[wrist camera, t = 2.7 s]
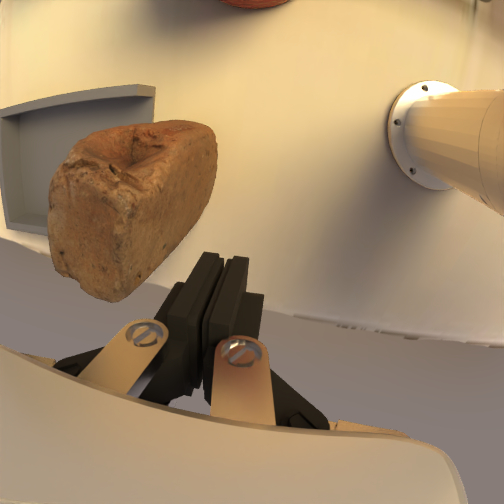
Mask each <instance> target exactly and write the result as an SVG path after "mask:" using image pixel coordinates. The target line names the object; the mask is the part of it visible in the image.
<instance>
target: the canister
mask: <svg viewBox="0 0 504 504" xmlns="http://www.w3.org/2000/svg"><path fill="white" fill-rule="evenodd" d="M220 1H222V2H224V3H226V4H229V5H231V6H235V7H240V8H250V9H258V8H267V7H272V6H276V5H280V4H282V3H285V2H287V1H289V0H220Z"/></svg>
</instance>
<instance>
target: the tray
mask: <svg viewBox="0 0 504 504" xmlns="http://www.w3.org/2000/svg"><path fill="white" fill-rule="evenodd" d="M155 88H156V87H153V86H146V85H140V84H134V85H123V86H114V87H106V88H98V89H91V90H84V91H78V92H72V93H67V94H61V95H56V96H52V97H47V98H42V99H38V100H34V101H30V102H26V103H22V104H18V105H14V106H11V107H7V108H4V109H1V110H0V188H1V196H2V203H3V209H4V216H5V221H6V227H7V229H12V230H17V231H23V232H29V233H35V234H41V235H47V236H48V232H47V217H48V210H49V201H48V194H49V185H50V180H51V179H52V177H53V175H54V173H55V171H56V170H57V168H58V166H59V165H60V164H61V163H62V162H63V161H64V160H65V159H66V157H67V155H68V153H69V151H70V150H71V148H72V147H73V146H74V145H75V144H76V143H77V142H78V141H79V140H81V139H84V138H86V137H87V136H88V135H90V134H91V133H93V132H96V131H100V130H105V129H109V128H113V127H117V126H128V125H131V124H139V123H153V117H154V101H155Z"/></svg>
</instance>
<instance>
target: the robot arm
mask: <svg viewBox="0 0 504 504" xmlns="http://www.w3.org/2000/svg"><path fill="white" fill-rule="evenodd" d="M421 86H422V87H423V90H422V88H421ZM394 121H396V122H397V124H396V125H395V124H394ZM388 138H389V145H390V148H391V151H392V154H393V156H394V158H395V160H396V162H397V164H398V165H399V167H400V168H401V169H402V171H403V172H404V173H405V174H406V175H407V176H408V177H409V178H410V179H411V180H413V181H415V182H416V183H418V184H420V185H422V186H424V187H426V188H429V189H433V190H447V189H452V188H456V189H458V190H460V191H461V192H463V193H465V194H467V195H469V196H470V197H472V198H474V199H476V200H477V201H479V202H481V203H482V204H484V205H486V206H487V207H489V208H491V209H492V210H494V211H496V212H497V213H499V214H500V215H502V216H504V90H475V91H459V90H457V89H456V88H455V87H453V86H451V85H449V84H447V83H444V82H440V81H433V80H427V81H421V82H418V83H415V84H412V85H411V86H409V87H407V88H406V89H405V90H404V91H403V92H402V93H401V94H400V95H399V96H398V97H397V99H396V100H395V102H394V103H393V106H392V108H391V111H390V114H389V120H388ZM410 168H412V171H411V172H410V171H409V170H410ZM248 265H249V258H247V257H240V256H234V257H233V259H228V260H227V262H226V264H225V267H224V258H219V254H218V253H211V252H203V254H202V255H201V257H200V259H199V260H198V262H197V264H196V265H195V267H194V269H193V271H192V272H191V274H190V276H189V277H188V279H187V281H186V282H185V283H183V282H177V283H176V284H175V285H174V287H173V288H172V290H171V292H170V293H169V295H168V296H167V298H166V300H165V301H164V303H163V304H162V306H161V308H160V309H159V311H158V313H157V314H156V316H155V317H154V319H138V320H134V321H133V322H130V323H128V324H127V325H126V326H124V327H123V328H122V329H121V331H120V332H119V333H118V334H117V335H116V336H115V337H114V338H113V339H112V340H111V341H110V342H109V343H108V344H107V345H106V346H105V347H102V348H98V349H95V350H92V351H88V352H85V353H82V354H78V355H75V356H71V357H68V358H65V359H62V360H60V361H58V362H57V363H56V361H55V359H50V358H45V357H39V356H34V355H29V354H24V353H19V352H17V351H15V350H13V349H10V348H8V347H6V346H4V345H1V344H0V504H468V500H467V497H466V493H465V489H464V486H463V483H462V481H461V478H460V476H459V473H458V471H457V469H456V467H455V465H454V463H453V462H452V460H451V459H450V458H449V457H448V455H447V454H446V453H444V452H443V451H442V450H440V449H439V448H436V447H434V446H433V445H430V444H428V443H425V442H422V441H418V440H415V439H411V438H410V437H408V436H407V435H406V434H405V433H403V432H399V431H397V430H390V429H384V428H378V427H373V426H367V425H362V424H357V423H352V422H347V421H343V420H338V422H337V423H336V422H332V421H328V420H327V418H326V417H325V416H324V415H323V414H322V413H321V412H320V411H319V410H318V409H316V408H315V407H314V406H313V405H312V404H310V403H309V402H308V401H307V400H306V399H305V398H303V397H302V396H301V395H300V394H299V393H297V392H296V391H295V390H294V389H293V388H292V387H290V386H289V385H288V384H287V383H286V382H285V381H284V380H282V379H281V378H280V377H279V376H278V375H277V374H276V373H275V372H274V371H272V370H271V369H270V366H269V357H268V352H267V349H266V347H265V346H264V345H263V343H261V342H260V341H258V336H259V329H260V322H261V315H262V308H263V301H264V294H257V293H249V292H246V286H247V275H248ZM202 379H203V390H204V399H205V400H206V401H207V402H208V404H209V405H210V406H211V412H210V416H209V415H204V414H199V413H194V412H190V411H185V410H181V409H177V408H174V407H175V405H176V401H177V400H176V398H178V397H180V396H183V395H186V396H191V395H192V392H193V389H194V388H196V389H199V388H200V385H201V382H202Z"/></svg>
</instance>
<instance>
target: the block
mask: <svg viewBox="0 0 504 504" xmlns="http://www.w3.org/2000/svg"><path fill="white" fill-rule="evenodd" d="M217 157H218V154H217V143H216V136H215V134H214V132H213V130H212V129H211V128H210V127H208V126H206V125H203V124H200V123H197V122H192V121H185V120H169V121H160V122H157V123H139V124H131V125H128V126H117V127H113V128H109V129H105V130H100V131H96V132H93V133H91V134H90V135H88V136H87V137H86V138H84V139H81V140H79V141H78V142H77V143H76V144H75V145H74V146H73V147H72V148H71V150H70V151H69V153H68V155H67V157H66V159H65V160H64V161H63V162H62V163H61V164H60V165H59V166H58V168H57V170H56V171H55V173H54V175H53V177H52V179H51V180H50V185H49V194H48V201H49V210H48V217H47V232H48V239H49V246H50V252H51V256H52V260H53V264H54V267H55V270H56V271H57V272H58V273H60V274H61V275H62V276H63V277H71V278H72V279H75V280H77V281H78V282H79V283H80V286H81V289H83V290H84V291H85V292H86V293H88V294H89V295H91V296H93V297H95V298H97V299H101V300H105V301H108V302H110V303H112V302H119V301H120V300H122V299H124V298H126V297H127V296H128V295H130V294H131V293H132V292H133V291H134V290H135V289H136V288H137V287H138V286H140V285H141V284H142V283H143V282H144V281H145V280H146V279H147V278H148V277H149V276H150V275H151V273H152V272H153V271H154V270H155V269H156V268H157V267H158V266H159V265H160V264H161V263H162V262H163V261H164V260H165V259H166V258H167V257H168V256H169V254H170V253H171V252H172V251H173V250H174V249H175V248H176V247H177V246H178V245H179V243H180V242H181V241H182V240H183V238H184V237H185V236H186V235H187V234H188V232H189V231H190V230H191V229H192V227H193V226H194V225H195V224H196V222H197V221H198V220H199V218H200V216H201V214H202V212H203V210H204V208H205V207H206V205H207V204H208V202H209V199H210V196H211V193H212V190H213V186H214V181H215V178H216V171H217Z"/></svg>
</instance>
